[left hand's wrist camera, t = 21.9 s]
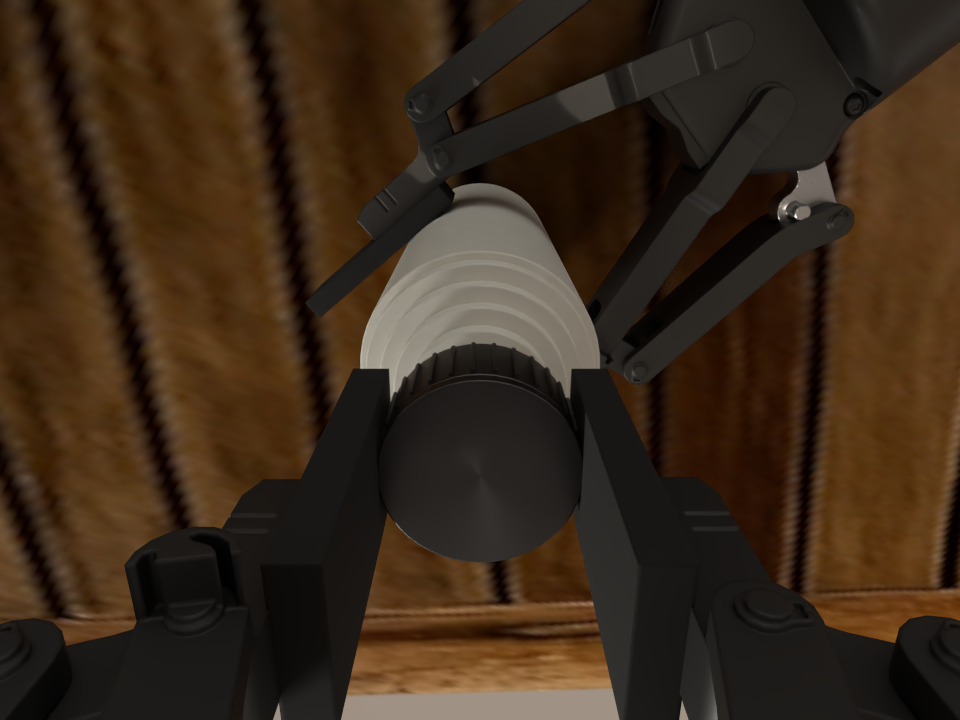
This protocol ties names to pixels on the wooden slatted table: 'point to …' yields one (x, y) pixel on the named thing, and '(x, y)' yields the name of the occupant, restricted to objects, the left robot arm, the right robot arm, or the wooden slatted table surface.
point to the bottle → (481, 291)
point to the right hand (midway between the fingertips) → (383, 365)
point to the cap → (480, 454)
